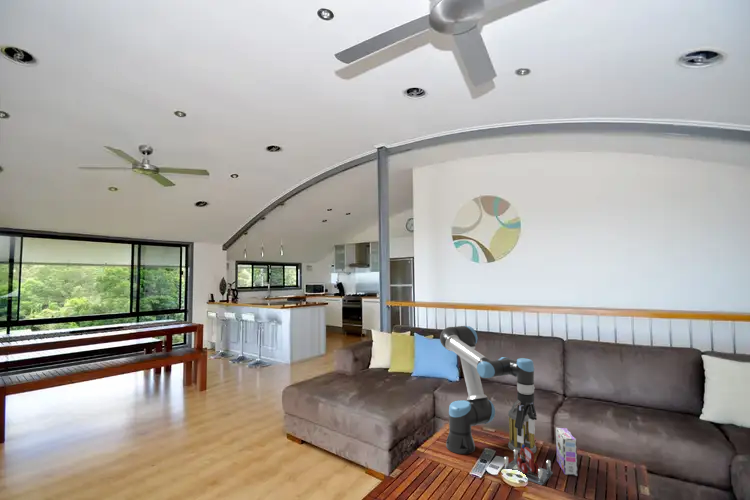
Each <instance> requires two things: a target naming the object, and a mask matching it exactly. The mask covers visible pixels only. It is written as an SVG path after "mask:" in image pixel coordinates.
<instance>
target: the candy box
mask: <svg viewBox="0 0 750 500" xmlns="http://www.w3.org/2000/svg"><path fill="white" fill-rule="evenodd" d="M554 430H555V448H556V451H555V452H556V462H557V464H558V465H559V467H560V468H561V471H562V472H563V474H564V475H567V476H574V477H575V476H576V477H578V458H577V457H578V455H577V454H578V452H577V450H578V449H577V447H578V446H577V438H576V437H575V436H574V435H573V434H572V432H571V431H570V430H569V428H566V427H555V429H554Z"/></svg>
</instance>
